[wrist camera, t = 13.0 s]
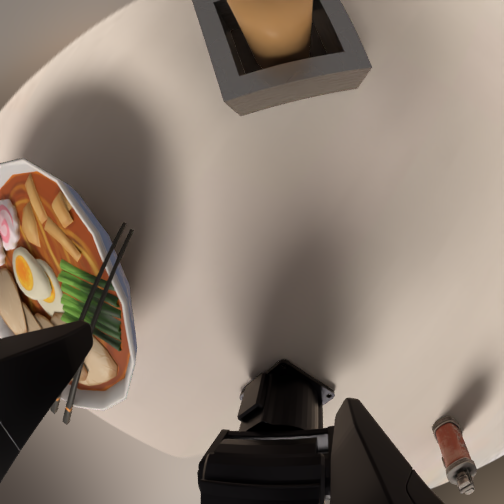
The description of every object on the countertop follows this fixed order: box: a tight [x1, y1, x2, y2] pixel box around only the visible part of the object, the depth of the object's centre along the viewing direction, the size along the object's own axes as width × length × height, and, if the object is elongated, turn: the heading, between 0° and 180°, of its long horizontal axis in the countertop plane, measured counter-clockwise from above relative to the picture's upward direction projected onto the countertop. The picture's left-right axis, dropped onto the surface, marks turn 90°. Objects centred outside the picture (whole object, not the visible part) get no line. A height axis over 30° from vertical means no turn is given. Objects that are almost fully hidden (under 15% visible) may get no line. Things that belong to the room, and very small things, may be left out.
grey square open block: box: [192, 0, 372, 116], centre depth 14 cm, size 8×8×4 cm
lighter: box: [432, 416, 476, 495], centre depth 18 cm, size 8×3×10 cm, turn 43°
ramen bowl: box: [0, 158, 137, 424], centre depth 20 cm, size 25×23×8 cm
